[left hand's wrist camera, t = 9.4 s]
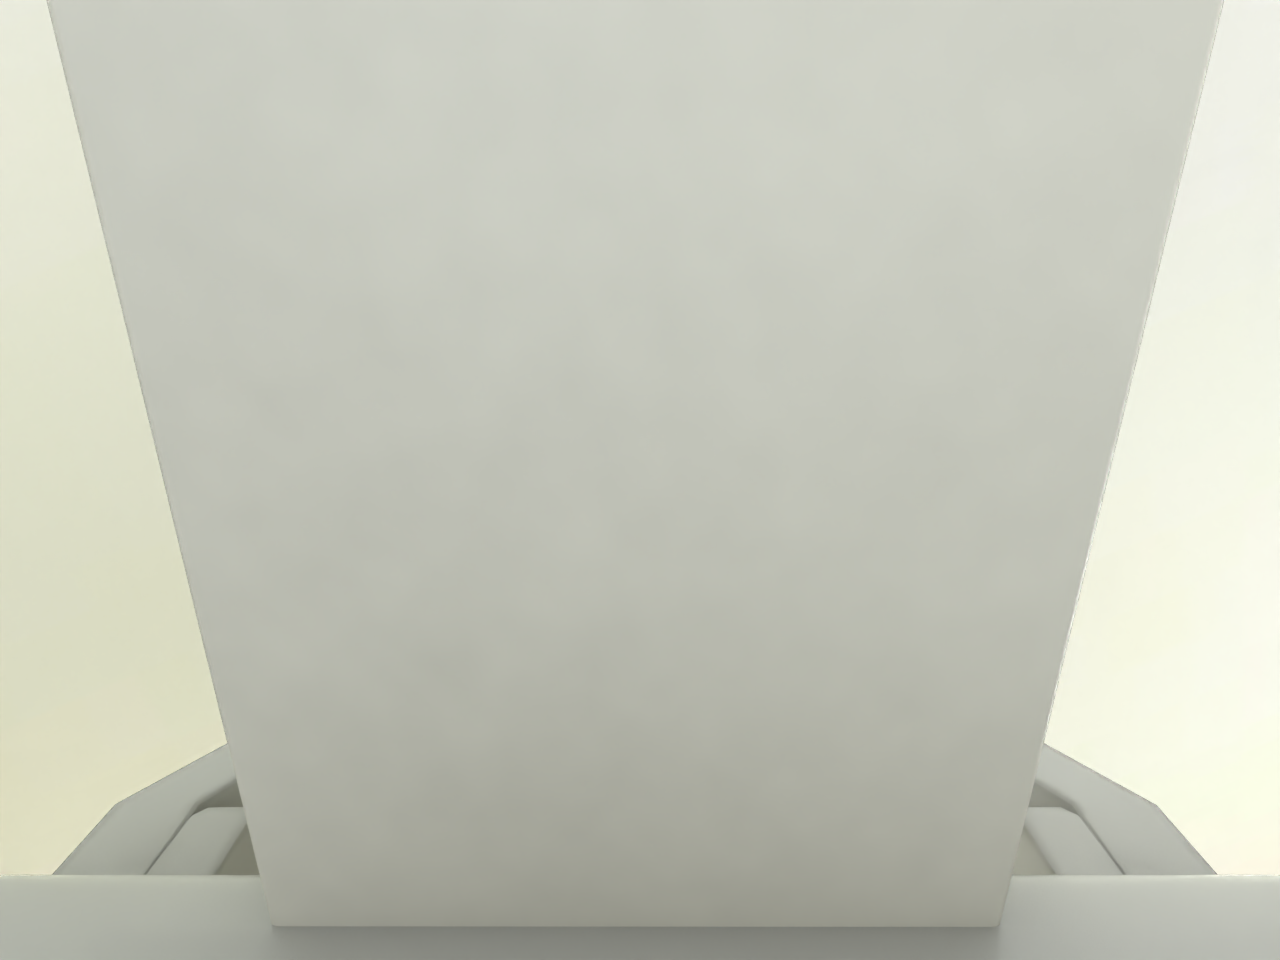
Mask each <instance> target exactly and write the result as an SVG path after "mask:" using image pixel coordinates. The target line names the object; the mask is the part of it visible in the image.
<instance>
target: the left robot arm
mask: <svg viewBox="0 0 1280 960" xmlns="http://www.w3.org/2000/svg"><path fill="white" fill-rule="evenodd" d="M0 960H1280V875H1217V873H1216V872H1215V871H1214V870H1213V869H1212V868H1211V867H1210V865H1209V864H1208V863H1207V862H1206V861H1205V860H1204V859H1203V858H1202V856H1201V855H1200V854H1199V853H1198V852H1197V851H1196V850H1195V848H1194V847H1193V846H1192V845H1191V844H1190V843H1189V842H1188V840H1187V839H1186V838H1185V837H1184V836H1183V835H1182V834H1181V832H1180V831H1179V830H1178V829H1177V828H1176V827H1175V826H1174V824H1173V823H1172V822H1171V821H1170V820H1169V819H1168V818H1167V817H1166V815H1165V814H1164V813H1163V812H1162V811H1161V810H1160V809H1159V807H1158V806H1157V805H1155V804H1153V803H1152V802H1150V801H1148V800H1146V799H1144V798H1143V797H1141V796H1139V795H1137V794H1135V793H1133V792H1132V791H1130V790H1128V789H1126V788H1124V787H1123V786H1121V785H1119V784H1117V783H1115V782H1113V781H1112V780H1110V779H1108V778H1106V777H1104V776H1103V775H1101V774H1099V773H1097V772H1095V771H1093V770H1092V769H1090V768H1088V767H1086V766H1084V765H1083V764H1081V763H1079V762H1077V761H1075V760H1074V759H1072V758H1070V757H1068V756H1066V755H1064V754H1063V753H1061V752H1059V751H1057V750H1055V749H1054V748H1052V747H1050V746H1048V745H1046V744H1043V748H1042V752H1041V756H1040V760H1039V765H1038V769H1037V773H1036V777H1035V781H1034V785H1033V789H1032V793H1031V798H1030V802H1029V806H1028V810H1027V814H1026V818H1025V822H1024V826H1023V830H1022V835H1021V839H1020V843H1019V847H1018V851H1017V855H1016V859H1015V863H1014V868H1013V872H1012V876H1011V880H1010V884H1009V888H1008V892H1007V896H1006V900H1005V905H1004V909H1003V913H1002V917H1001V921H1000V925H998V926H996V927H446V926H274V925H272V924H271V919H270V915H269V911H268V907H267V903H266V899H265V895H264V891H263V887H262V882H261V878H260V874H259V870H258V866H257V862H256V858H255V854H254V850H253V846H252V841H251V837H250V833H249V829H248V825H247V821H246V817H245V813H244V809H243V804H242V800H241V796H240V792H239V788H238V784H237V780H236V776H235V772H234V768H233V763H232V759H231V755H230V751H229V747H228V743H227V744H225V745H224V746H222V747H220V748H218V749H216V750H214V751H212V752H211V753H209V754H207V755H205V756H203V757H201V758H200V759H198V760H196V761H194V762H192V763H190V764H189V765H187V766H185V767H183V768H181V769H179V770H177V771H176V772H174V773H172V774H170V775H168V776H166V777H165V778H163V779H161V780H159V781H157V782H155V783H154V784H152V785H150V786H148V787H146V788H144V789H143V790H141V791H139V792H137V793H135V794H133V795H131V796H130V797H128V798H126V799H124V800H122V801H120V802H119V803H117V804H115V805H114V807H113V808H112V809H111V810H110V811H109V812H108V813H107V814H106V815H105V817H104V818H103V819H102V820H101V821H100V822H99V823H98V824H97V825H96V827H95V828H94V829H93V830H92V831H91V832H90V833H89V834H88V835H87V836H86V838H85V839H84V840H83V841H82V842H81V843H80V844H79V845H78V846H77V848H76V849H75V850H74V851H73V852H72V853H71V854H70V855H69V856H68V858H67V859H66V860H65V861H64V862H63V863H62V864H61V865H60V866H59V868H58V869H57V870H56V871H55V872H54V873H53V874H52V875H0Z"/></svg>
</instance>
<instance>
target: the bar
mask: <svg viewBox="0 0 1280 960" xmlns="http://www.w3.org/2000/svg"><path fill="white" fill-rule="evenodd" d="M1223 3H1224V0H47V4H48V8H49V12H50V16H51V20H52V24H53V29H54V33H55V37H56V41H57V45H58V49H59V53H60V57H61V61H62V65H63V70H64V74H65V78H66V82H67V86H68V90H69V94H70V98H71V102H72V107H73V111H74V115H75V119H76V123H77V127H78V131H79V135H80V139H81V143H82V148H83V152H84V156H85V160H86V164H87V168H88V172H89V176H90V180H91V185H92V189H93V193H94V197H95V201H96V205H97V209H98V213H99V217H100V221H101V226H102V230H103V234H104V238H105V242H106V246H107V250H108V254H109V258H110V263H111V267H112V271H113V275H114V279H115V283H116V287H117V291H118V295H119V300H120V304H121V308H122V312H123V316H124V320H125V324H126V328H127V332H128V336H129V341H130V345H131V349H132V353H133V357H134V361H135V365H136V369H137V373H138V378H139V382H140V386H141V390H142V394H143V398H144V402H145V406H146V410H147V414H148V419H149V423H150V427H151V431H152V435H153V439H154V443H155V447H156V451H157V456H158V460H159V464H160V468H161V472H162V476H163V480H164V484H165V488H166V492H167V497H168V501H169V505H170V509H171V513H172V517H173V521H174V525H175V529H176V534H177V538H178V542H179V546H180V550H181V554H182V558H183V562H184V566H185V570H186V575H187V579H188V583H189V587H190V591H191V595H192V599H193V603H194V607H195V612H196V616H197V620H198V624H199V628H200V632H201V636H202V640H203V644H204V648H205V653H206V657H207V661H208V665H209V669H210V673H211V677H212V681H213V685H214V690H215V694H216V698H217V702H218V706H219V710H220V714H221V718H222V722H223V726H224V731H225V735H226V739H227V743H228V747H229V751H230V755H231V759H232V763H233V768H234V772H235V776H236V780H237V784H238V788H239V792H240V796H241V800H242V804H243V809H244V813H245V817H246V821H247V825H248V829H249V833H250V837H251V841H252V846H253V850H254V854H255V858H256V862H257V866H258V870H259V874H260V878H261V882H262V887H263V891H264V895H265V899H266V903H267V907H268V911H269V915H270V919H271V924H272V925H274V926H446V927H996V926H998V925H1000V921H1001V917H1002V913H1003V909H1004V905H1005V900H1006V896H1007V892H1008V888H1009V884H1010V880H1011V876H1012V872H1013V868H1014V863H1015V859H1016V855H1017V851H1018V847H1019V843H1020V839H1021V835H1022V830H1023V826H1024V822H1025V818H1026V814H1027V810H1028V806H1029V802H1030V798H1031V793H1032V789H1033V785H1034V781H1035V777H1036V773H1037V769H1038V765H1039V760H1040V756H1041V752H1042V748H1043V744H1044V740H1045V736H1046V732H1047V728H1048V723H1049V719H1050V715H1051V711H1052V707H1053V703H1054V699H1055V695H1056V690H1057V686H1058V682H1059V678H1060V674H1061V670H1062V666H1063V662H1064V658H1065V653H1066V649H1067V645H1068V641H1069V637H1070V633H1071V629H1072V625H1073V620H1074V616H1075V612H1076V608H1077V604H1078V600H1079V596H1080V592H1081V588H1082V583H1083V579H1084V575H1085V571H1086V567H1087V563H1088V559H1089V555H1090V550H1091V546H1092V542H1093V538H1094V534H1095V530H1096V526H1097V522H1098V518H1099V513H1100V509H1101V505H1102V501H1103V497H1104V493H1105V489H1106V485H1107V481H1108V476H1109V472H1110V468H1111V464H1112V460H1113V456H1114V452H1115V448H1116V443H1117V439H1118V435H1119V431H1120V427H1121V423H1122V419H1123V415H1124V411H1125V406H1126V402H1127V398H1128V394H1129V390H1130V386H1131V382H1132V378H1133V373H1134V369H1135V365H1136V361H1137V357H1138V353H1139V349H1140V345H1141V341H1142V336H1143V332H1144V328H1145V324H1146V320H1147V316H1148V312H1149V308H1150V303H1151V299H1152V295H1153V291H1154V287H1155V283H1156V279H1157V275H1158V271H1159V266H1160V262H1161V258H1162V254H1163V250H1164V246H1165V242H1166V238H1167V233H1168V229H1169V225H1170V221H1171V217H1172V213H1173V209H1174V205H1175V201H1176V196H1177V192H1178V188H1179V184H1180V180H1181V176H1182V172H1183V168H1184V163H1185V159H1186V155H1187V151H1188V147H1189V143H1190V139H1191V135H1192V131H1193V126H1194V122H1195V118H1196V114H1197V110H1198V106H1199V102H1200V98H1201V93H1202V89H1203V85H1204V81H1205V77H1206V73H1207V69H1208V65H1209V61H1210V56H1211V52H1212V48H1213V44H1214V40H1215V36H1216V32H1217V28H1218V24H1219V19H1220V15H1221V11H1222V7H1223Z"/></svg>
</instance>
